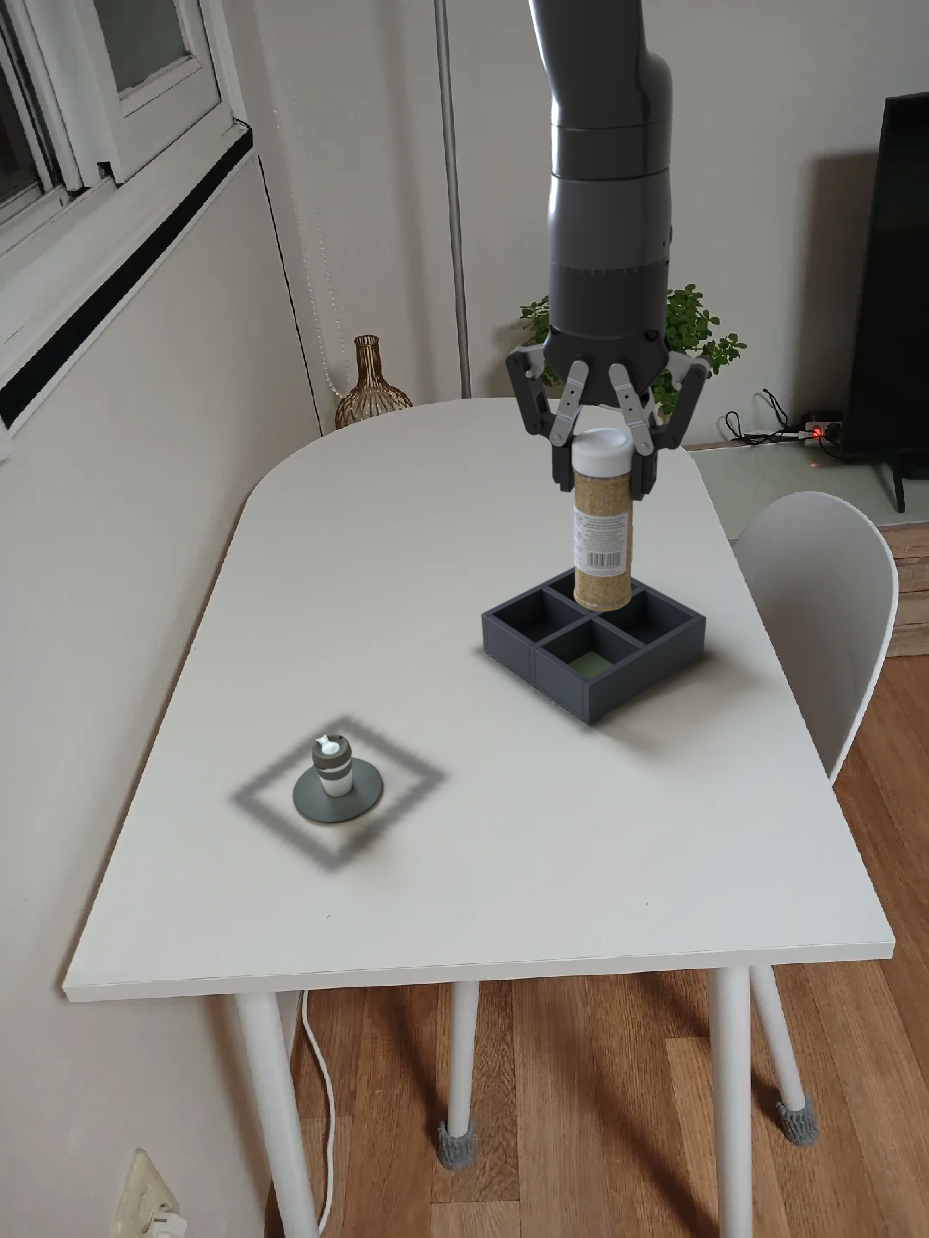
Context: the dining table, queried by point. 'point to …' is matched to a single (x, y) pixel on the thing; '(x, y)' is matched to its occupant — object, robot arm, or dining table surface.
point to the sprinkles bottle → (603, 518)
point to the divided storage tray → (592, 644)
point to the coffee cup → (336, 782)
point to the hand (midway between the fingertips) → (604, 490)
